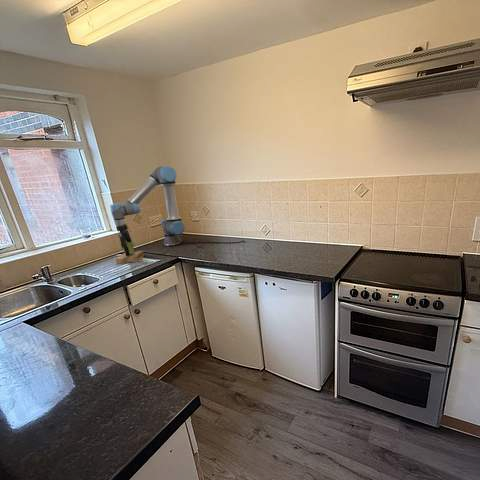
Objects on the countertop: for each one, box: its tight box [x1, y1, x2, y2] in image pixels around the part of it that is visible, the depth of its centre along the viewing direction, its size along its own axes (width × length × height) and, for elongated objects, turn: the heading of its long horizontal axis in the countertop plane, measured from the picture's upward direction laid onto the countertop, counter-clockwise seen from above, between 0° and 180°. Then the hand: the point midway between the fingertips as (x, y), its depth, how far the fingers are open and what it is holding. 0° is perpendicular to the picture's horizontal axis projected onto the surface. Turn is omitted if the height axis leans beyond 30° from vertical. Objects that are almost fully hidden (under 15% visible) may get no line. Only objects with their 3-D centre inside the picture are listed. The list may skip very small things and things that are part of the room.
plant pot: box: [120, 241, 135, 255], centre depth 229 cm, size 9×9×9 cm
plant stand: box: [115, 250, 146, 265], centre depth 232 cm, size 16×16×4 cm
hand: (130, 253), depth 231 cm, fingers closed on plant pot, 8 cm apart
